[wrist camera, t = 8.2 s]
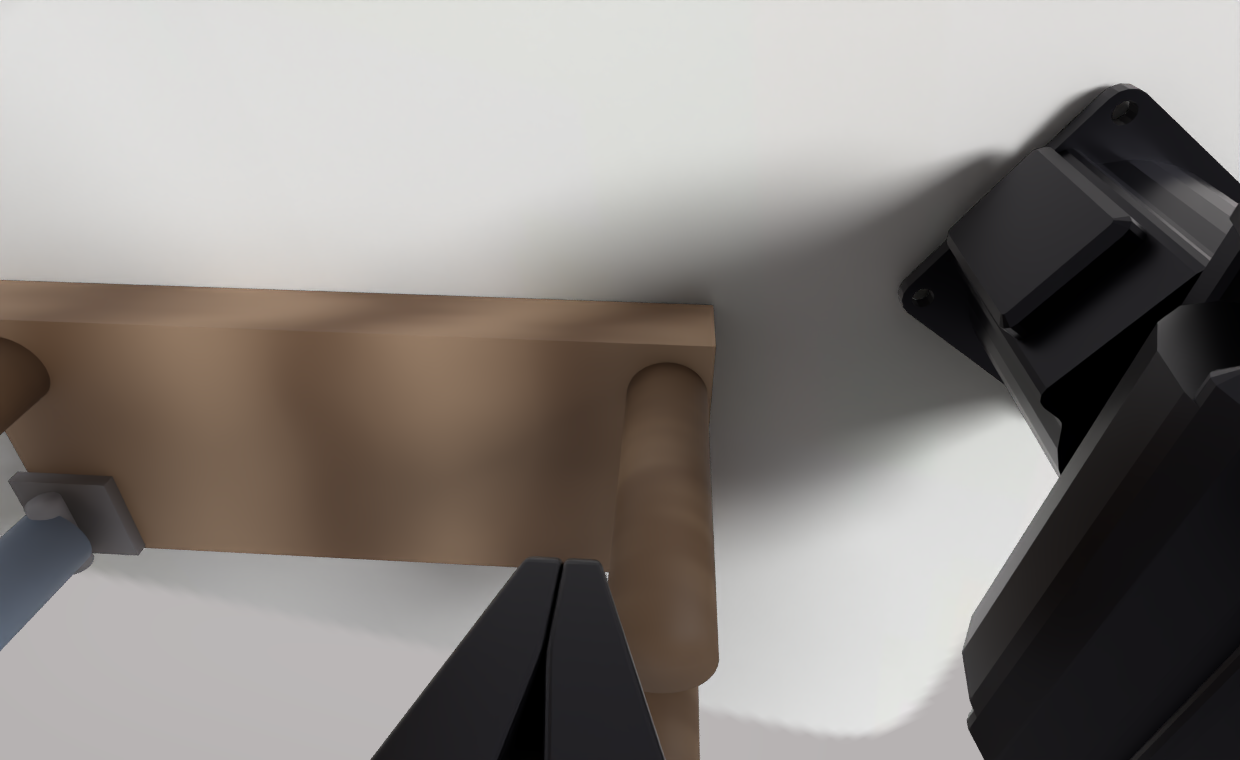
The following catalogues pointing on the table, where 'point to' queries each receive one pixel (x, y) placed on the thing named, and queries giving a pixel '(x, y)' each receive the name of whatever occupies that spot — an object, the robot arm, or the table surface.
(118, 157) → the table surface
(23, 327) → the stool
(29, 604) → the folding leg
